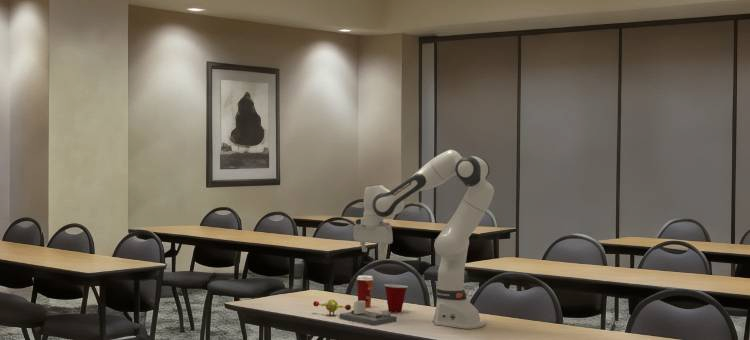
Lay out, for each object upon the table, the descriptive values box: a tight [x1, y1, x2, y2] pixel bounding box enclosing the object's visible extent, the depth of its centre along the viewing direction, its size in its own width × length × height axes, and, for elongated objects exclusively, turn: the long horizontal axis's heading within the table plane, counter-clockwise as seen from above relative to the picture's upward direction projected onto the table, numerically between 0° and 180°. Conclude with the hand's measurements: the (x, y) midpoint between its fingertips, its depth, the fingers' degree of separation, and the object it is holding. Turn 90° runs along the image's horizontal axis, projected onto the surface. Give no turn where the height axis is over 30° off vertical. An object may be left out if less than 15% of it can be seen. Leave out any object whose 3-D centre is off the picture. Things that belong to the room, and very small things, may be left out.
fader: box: [353, 300, 366, 314], centre depth 404 cm, size 2×5×5 cm, turn 138°
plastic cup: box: [383, 283, 409, 313], centre depth 425 cm, size 11×11×12 cm
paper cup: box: [356, 274, 374, 309], centre depth 435 cm, size 8×8×14 cm
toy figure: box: [313, 299, 352, 316], centre depth 411 cm, size 18×6×7 cm, turn 66°
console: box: [339, 309, 397, 326], centre depth 402 cm, size 20×14×4 cm
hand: (372, 252), depth 416 cm, fingers open, 8 cm apart
